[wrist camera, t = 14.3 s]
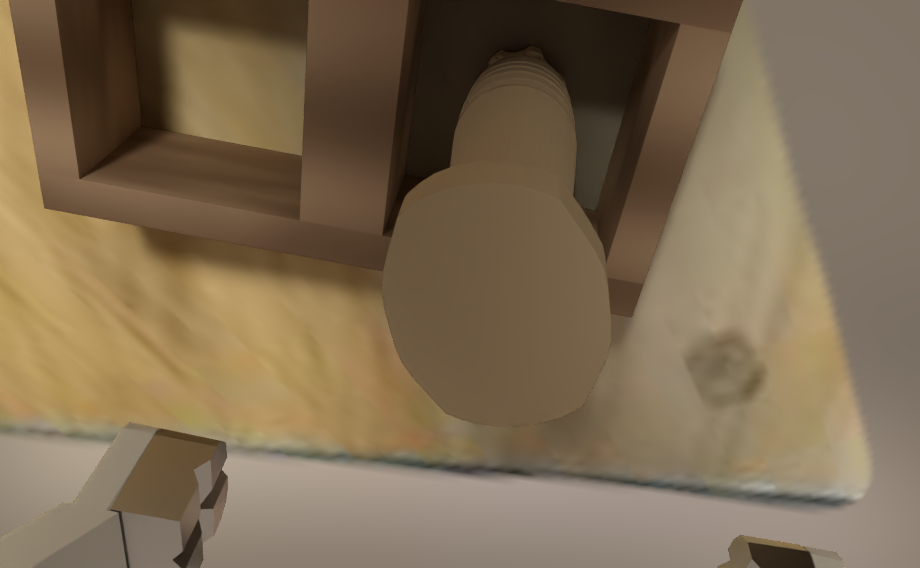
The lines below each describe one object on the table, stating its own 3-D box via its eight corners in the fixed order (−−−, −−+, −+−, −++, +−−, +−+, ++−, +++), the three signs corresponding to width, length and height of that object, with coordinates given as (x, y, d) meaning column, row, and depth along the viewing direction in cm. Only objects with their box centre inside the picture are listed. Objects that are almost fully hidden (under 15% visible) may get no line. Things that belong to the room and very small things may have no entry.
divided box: (73, -174, 26) (-20, -164, 22) (718, -54, 26) (750, -20, 22) (109, 153, 33) (44, 208, 28) (621, 248, 33) (631, 317, 28)
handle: (472, 170, 31) (418, 431, 19) (443, 8, 28) (353, 197, 15) (592, 155, 30) (619, 420, 18) (577, -13, 27) (598, 169, 15)
